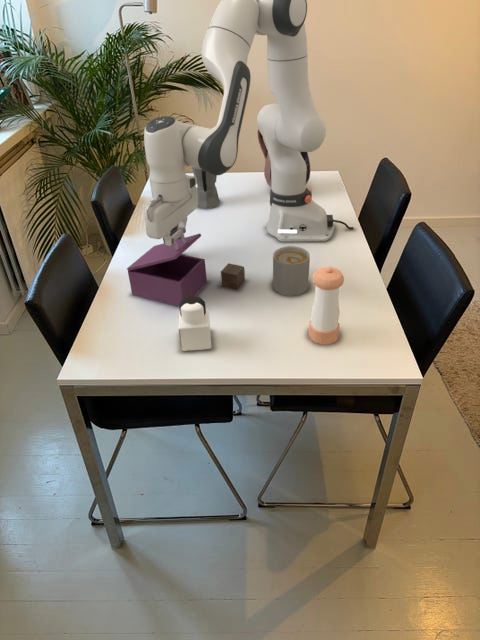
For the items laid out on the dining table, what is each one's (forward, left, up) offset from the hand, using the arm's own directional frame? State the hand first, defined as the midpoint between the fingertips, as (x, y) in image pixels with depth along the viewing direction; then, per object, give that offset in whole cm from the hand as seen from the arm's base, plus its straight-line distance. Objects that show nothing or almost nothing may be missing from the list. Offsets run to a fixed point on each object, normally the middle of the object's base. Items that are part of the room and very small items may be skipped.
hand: (176, 238), depth 131 cm
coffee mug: (-29, -11, -17) cm, 35 cm away
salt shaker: (-41, +11, -17) cm, 46 cm away
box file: (+4, -1, -17) cm, 17 cm away
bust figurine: (-11, +20, -17) cm, 29 cm away
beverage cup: (+9, -18, -17) cm, 26 cm away
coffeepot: (+11, -58, -17) cm, 61 cm away
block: (-13, -7, -17) cm, 22 cm away
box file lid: (+4, -1, -5) cm, 7 cm away
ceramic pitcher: (-14, -77, -17) cm, 80 cm away
